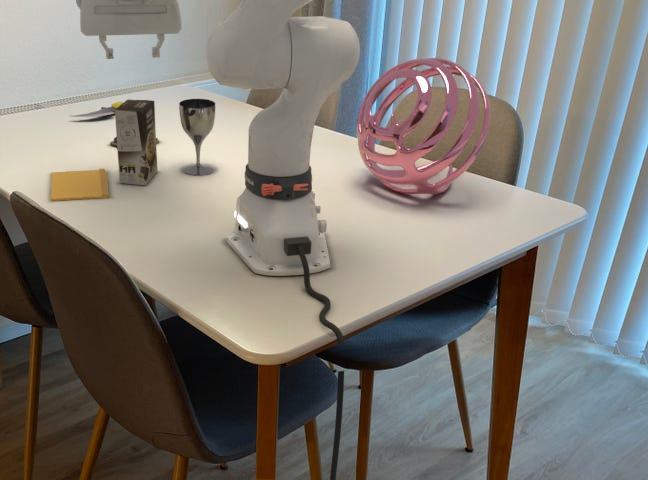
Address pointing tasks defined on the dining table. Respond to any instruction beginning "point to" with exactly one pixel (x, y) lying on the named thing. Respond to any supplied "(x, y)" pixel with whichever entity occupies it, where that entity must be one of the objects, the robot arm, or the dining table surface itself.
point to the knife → (102, 111)
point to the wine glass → (197, 128)
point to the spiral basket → (397, 132)
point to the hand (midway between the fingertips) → (133, 57)
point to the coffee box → (136, 141)
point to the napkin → (79, 185)
